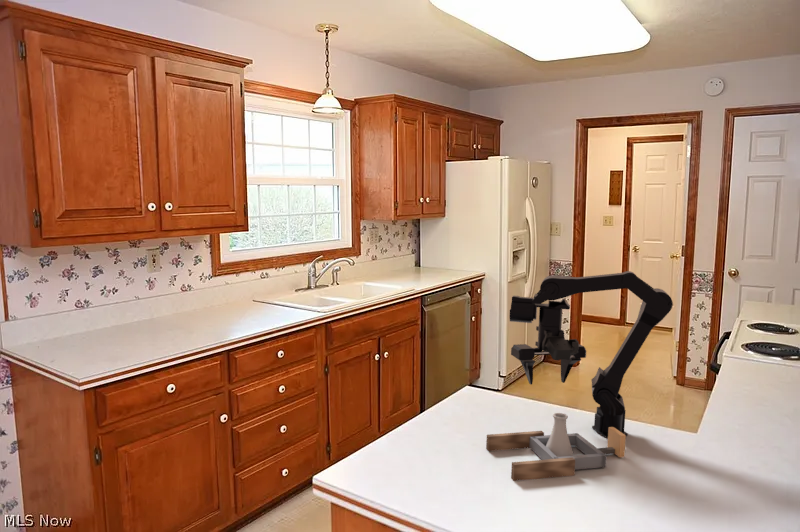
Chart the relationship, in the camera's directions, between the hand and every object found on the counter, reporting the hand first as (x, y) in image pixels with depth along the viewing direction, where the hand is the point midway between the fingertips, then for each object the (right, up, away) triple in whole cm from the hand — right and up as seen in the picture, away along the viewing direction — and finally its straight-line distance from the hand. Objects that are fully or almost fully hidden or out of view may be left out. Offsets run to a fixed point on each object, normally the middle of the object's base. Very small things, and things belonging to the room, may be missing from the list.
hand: (546, 383), depth 151 cm
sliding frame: (+3, -13, -18) cm, 23 cm away
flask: (-2, -13, -18) cm, 23 cm away
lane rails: (-10, -13, -21) cm, 27 cm away
